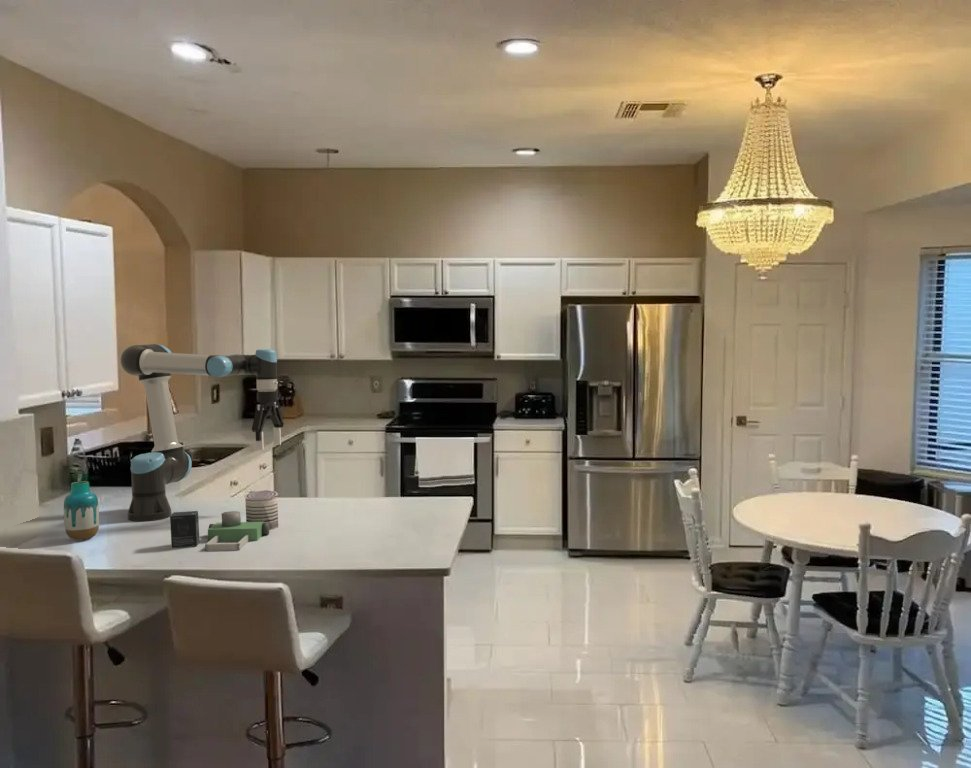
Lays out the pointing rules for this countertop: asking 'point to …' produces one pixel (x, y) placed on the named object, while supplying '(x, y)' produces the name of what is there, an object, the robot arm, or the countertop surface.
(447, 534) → the countertop surface
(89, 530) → the vase
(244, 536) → the green tray fixture
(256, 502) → the can
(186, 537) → the box
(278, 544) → the countertop surface
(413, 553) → the countertop surface
